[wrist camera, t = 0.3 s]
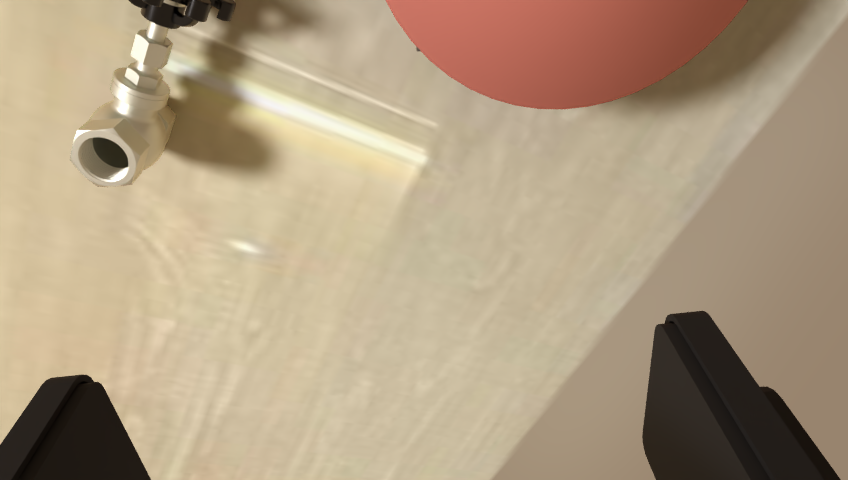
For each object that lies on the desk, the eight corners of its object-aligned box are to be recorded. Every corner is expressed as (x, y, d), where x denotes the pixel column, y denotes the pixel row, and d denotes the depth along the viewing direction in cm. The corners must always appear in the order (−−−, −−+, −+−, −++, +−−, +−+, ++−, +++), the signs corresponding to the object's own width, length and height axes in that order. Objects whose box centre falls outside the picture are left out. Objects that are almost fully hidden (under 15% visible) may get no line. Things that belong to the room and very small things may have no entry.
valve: (189, 165, 41) (249, -7, 35) (155, 213, 35) (220, 16, 30) (85, 123, 39) (132, -66, 33) (32, 166, 33) (78, -53, 28)
